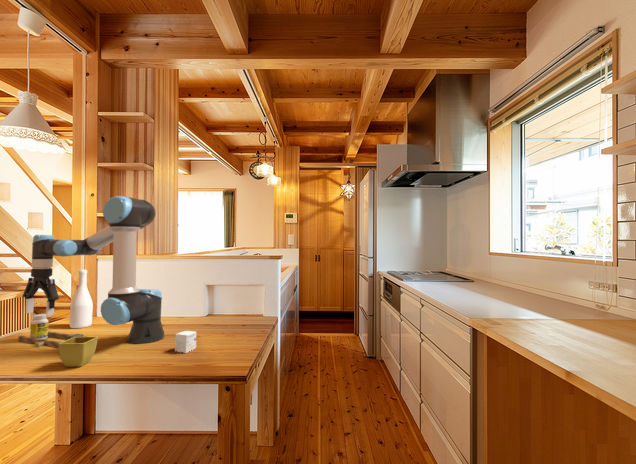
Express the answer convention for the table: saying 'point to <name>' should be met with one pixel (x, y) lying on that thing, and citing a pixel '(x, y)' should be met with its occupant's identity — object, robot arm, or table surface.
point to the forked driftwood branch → (43, 342)
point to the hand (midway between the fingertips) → (39, 314)
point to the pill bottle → (39, 326)
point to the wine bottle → (81, 304)
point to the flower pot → (77, 350)
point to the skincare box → (185, 341)
